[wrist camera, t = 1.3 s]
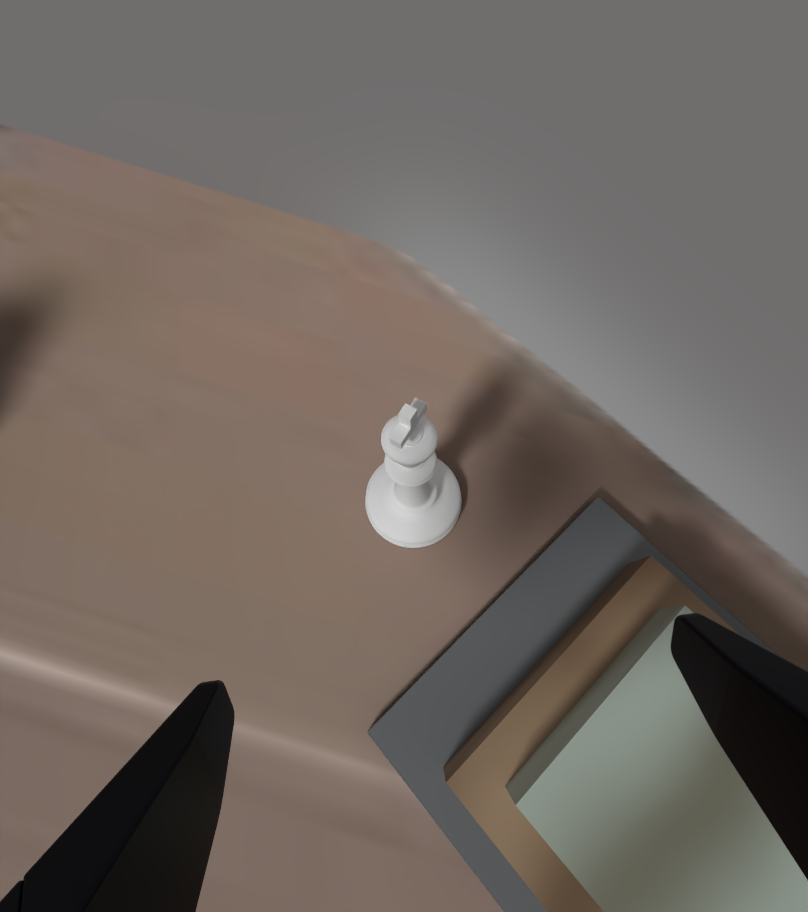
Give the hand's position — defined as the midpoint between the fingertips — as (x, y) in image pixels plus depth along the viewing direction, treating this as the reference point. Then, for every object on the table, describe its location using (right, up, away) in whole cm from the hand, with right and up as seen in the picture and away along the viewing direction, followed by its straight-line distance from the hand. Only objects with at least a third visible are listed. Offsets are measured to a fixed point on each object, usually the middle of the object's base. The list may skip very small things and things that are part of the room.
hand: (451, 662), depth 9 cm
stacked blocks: (+9, -9, +10) cm, 16 cm away
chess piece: (0, +2, +15) cm, 15 cm away
